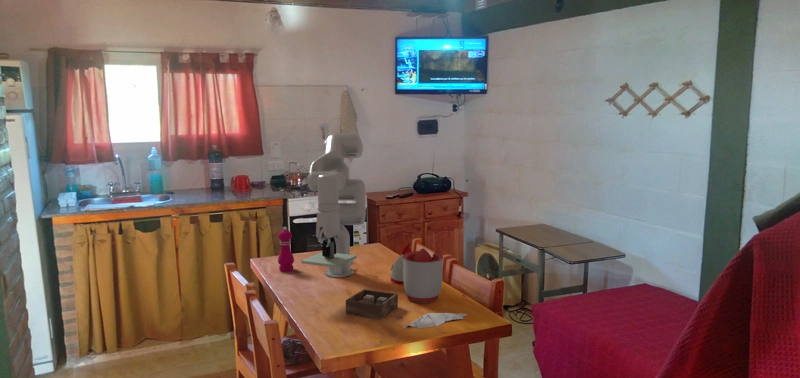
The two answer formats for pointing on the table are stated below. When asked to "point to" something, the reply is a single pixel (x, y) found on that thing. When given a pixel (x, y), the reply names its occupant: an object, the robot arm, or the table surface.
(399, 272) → the kitchen timer
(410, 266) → the citrus juicer
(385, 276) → the table surface
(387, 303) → the box
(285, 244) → the pepper mill
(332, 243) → the lid
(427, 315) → the cloth
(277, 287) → the table surface
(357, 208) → the robot arm
